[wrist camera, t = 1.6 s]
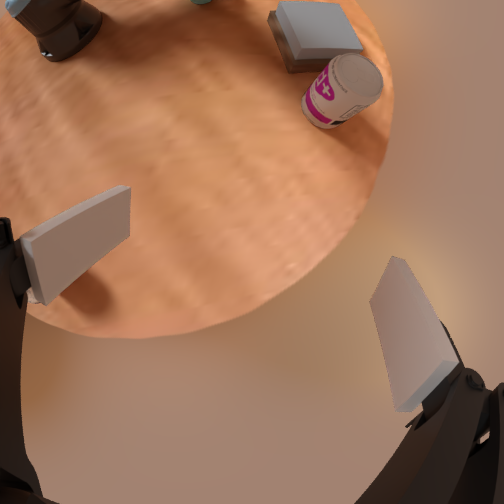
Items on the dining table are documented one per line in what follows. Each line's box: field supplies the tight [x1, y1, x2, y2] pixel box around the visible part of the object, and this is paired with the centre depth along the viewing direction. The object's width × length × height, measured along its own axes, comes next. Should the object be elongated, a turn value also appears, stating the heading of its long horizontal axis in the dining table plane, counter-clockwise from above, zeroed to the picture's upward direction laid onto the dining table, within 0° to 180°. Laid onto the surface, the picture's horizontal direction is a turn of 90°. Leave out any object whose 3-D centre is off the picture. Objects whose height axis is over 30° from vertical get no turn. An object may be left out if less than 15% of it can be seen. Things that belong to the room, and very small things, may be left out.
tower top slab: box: [275, 1, 364, 60], centre depth 34 cm, size 12×12×4 cm
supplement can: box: [301, 53, 383, 129], centre depth 35 cm, size 8×8×15 cm
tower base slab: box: [267, 11, 332, 74], centre depth 38 cm, size 14×14×4 cm
